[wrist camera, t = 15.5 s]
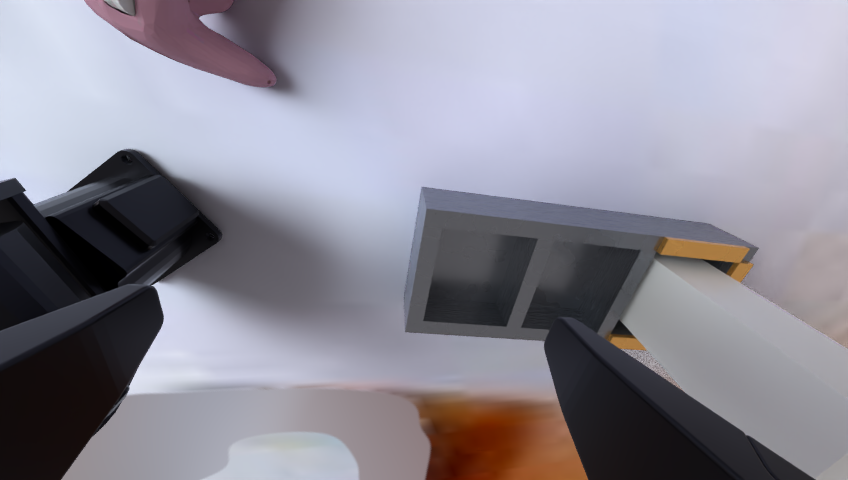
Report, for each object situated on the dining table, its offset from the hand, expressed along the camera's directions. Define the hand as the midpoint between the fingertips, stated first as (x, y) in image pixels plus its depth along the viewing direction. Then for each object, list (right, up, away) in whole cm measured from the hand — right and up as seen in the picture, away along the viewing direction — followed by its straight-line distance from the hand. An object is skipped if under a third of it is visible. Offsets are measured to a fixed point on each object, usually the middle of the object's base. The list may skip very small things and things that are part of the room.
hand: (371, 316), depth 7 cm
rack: (+11, 0, +16) cm, 19 cm away
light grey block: (+17, -1, +16) cm, 23 cm away
